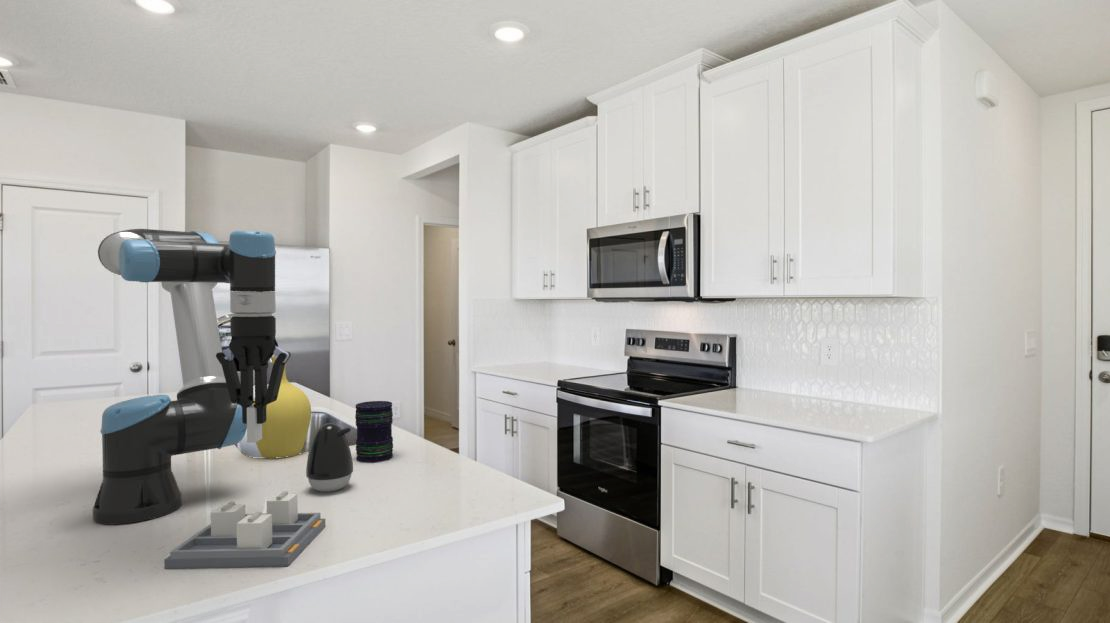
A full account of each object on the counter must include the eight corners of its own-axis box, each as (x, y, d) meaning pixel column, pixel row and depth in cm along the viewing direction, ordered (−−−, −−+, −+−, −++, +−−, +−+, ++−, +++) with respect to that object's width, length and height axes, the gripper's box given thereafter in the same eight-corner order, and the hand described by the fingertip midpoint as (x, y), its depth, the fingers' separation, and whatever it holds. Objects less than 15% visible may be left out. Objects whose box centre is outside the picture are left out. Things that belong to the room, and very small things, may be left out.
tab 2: (237, 553, 98) (236, 519, 98) (248, 543, 102) (248, 511, 102) (261, 553, 98) (260, 519, 98) (272, 543, 102) (271, 510, 102)
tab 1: (211, 540, 104) (210, 509, 103) (223, 531, 108) (222, 501, 107) (234, 540, 104) (233, 508, 103) (245, 531, 108) (245, 500, 107)
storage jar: (401, 456, 165) (400, 402, 164) (372, 464, 157) (372, 408, 156) (376, 451, 170) (375, 399, 170) (348, 459, 162) (347, 405, 162)
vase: (268, 446, 177) (266, 352, 176) (321, 446, 176) (319, 352, 176) (237, 461, 161) (235, 358, 160) (296, 461, 160) (294, 358, 160)
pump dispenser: (338, 497, 131) (337, 428, 131) (296, 494, 133) (295, 427, 133) (362, 483, 141) (361, 419, 141) (323, 480, 143) (322, 418, 143)
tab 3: (267, 528, 109) (266, 497, 109) (276, 520, 113) (276, 490, 113) (289, 527, 109) (288, 497, 109) (297, 519, 113) (297, 490, 113)
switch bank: (164, 568, 97) (164, 552, 97) (220, 528, 114) (220, 514, 114) (288, 566, 97) (287, 549, 97) (325, 526, 114) (325, 512, 114)
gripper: (206, 315, 106) (208, 446, 107) (280, 316, 107) (281, 446, 107) (228, 313, 114) (229, 435, 115) (297, 314, 114) (298, 435, 115)
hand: (254, 440), depth 111 cm, fingers closed
